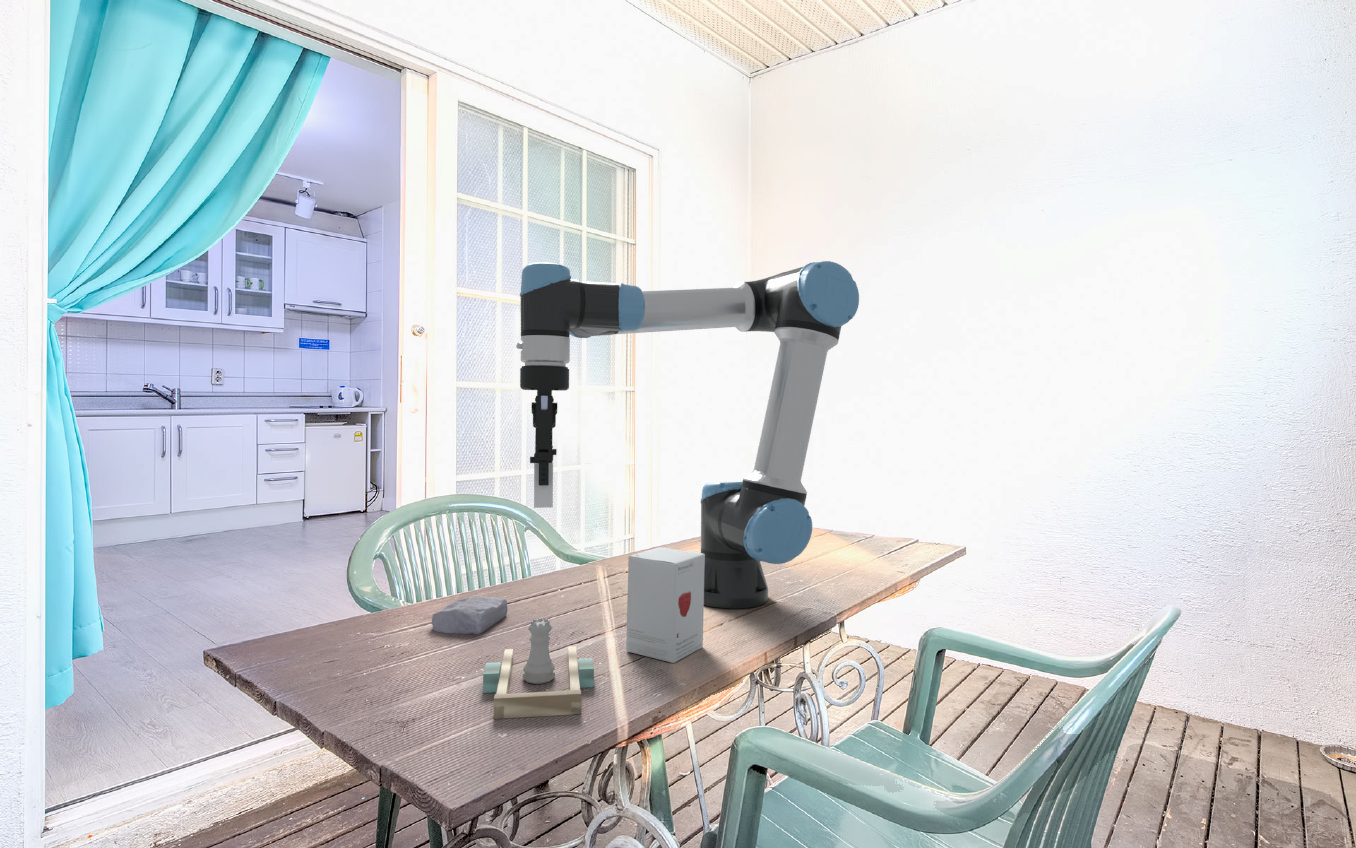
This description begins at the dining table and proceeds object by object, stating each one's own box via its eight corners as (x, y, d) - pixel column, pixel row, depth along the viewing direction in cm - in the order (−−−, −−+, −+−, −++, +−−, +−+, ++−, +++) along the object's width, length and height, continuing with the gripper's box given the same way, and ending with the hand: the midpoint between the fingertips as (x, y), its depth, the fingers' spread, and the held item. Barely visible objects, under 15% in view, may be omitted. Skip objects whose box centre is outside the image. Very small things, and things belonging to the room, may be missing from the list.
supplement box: (674, 665, 104) (675, 563, 103) (624, 652, 109) (626, 555, 108) (705, 647, 112) (706, 552, 111) (657, 636, 116) (658, 545, 116)
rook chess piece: (525, 672, 100) (527, 615, 100) (557, 672, 100) (559, 616, 100) (519, 684, 95) (520, 625, 95) (552, 685, 96) (554, 626, 95)
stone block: (427, 643, 117) (483, 635, 115) (422, 614, 117) (478, 606, 115) (461, 624, 129) (513, 616, 127) (457, 597, 129) (508, 590, 127)
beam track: (490, 659, 105) (491, 643, 104) (589, 655, 107) (589, 639, 107) (476, 720, 85) (476, 699, 85) (597, 713, 87) (597, 693, 87)
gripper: (523, 367, 122) (522, 490, 123) (516, 360, 98) (515, 513, 98) (567, 368, 123) (566, 490, 124) (571, 361, 99) (570, 512, 100)
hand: (543, 501), depth 111 cm, fingers open, 13 cm apart
